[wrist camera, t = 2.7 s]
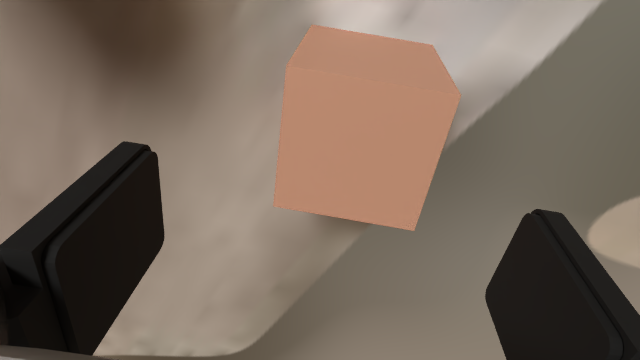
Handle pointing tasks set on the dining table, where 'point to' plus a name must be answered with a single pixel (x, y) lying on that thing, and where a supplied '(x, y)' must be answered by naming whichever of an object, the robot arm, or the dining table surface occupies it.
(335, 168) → the block
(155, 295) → the dining table surface
